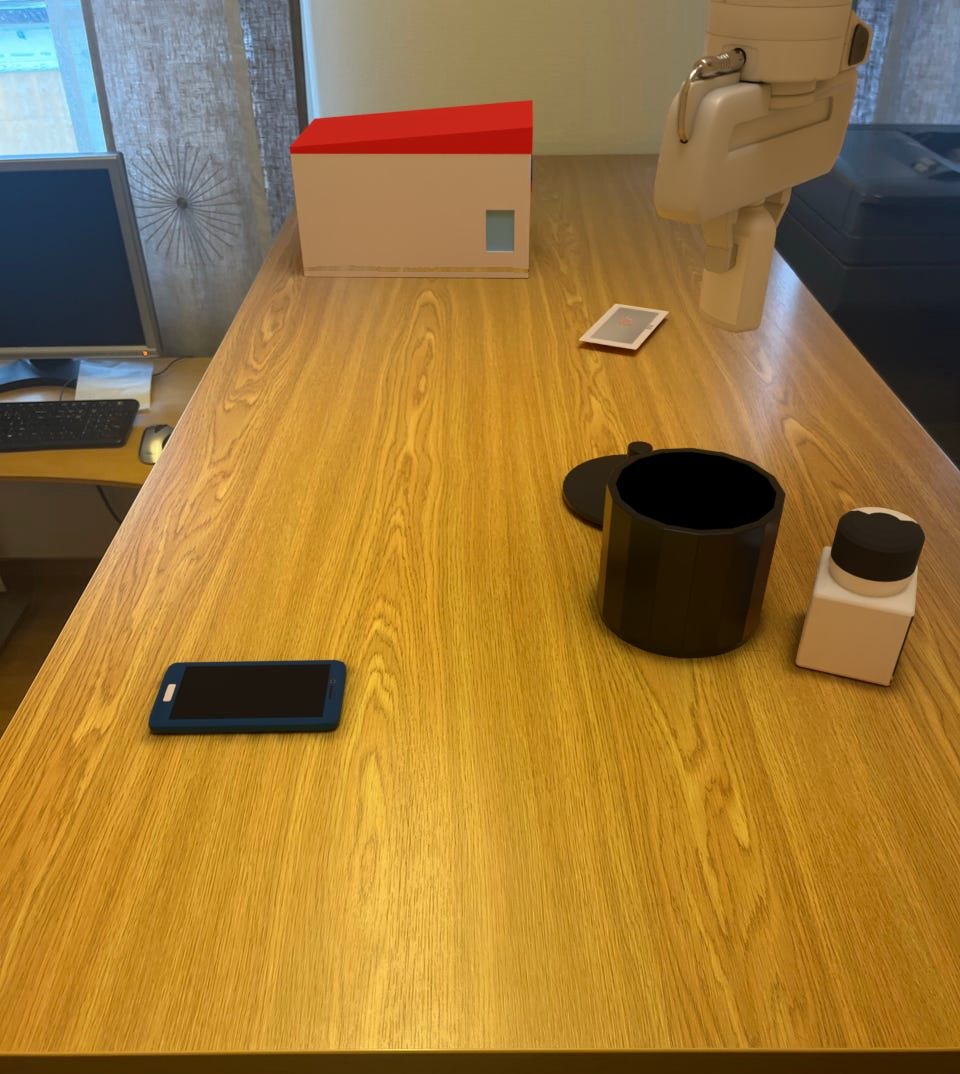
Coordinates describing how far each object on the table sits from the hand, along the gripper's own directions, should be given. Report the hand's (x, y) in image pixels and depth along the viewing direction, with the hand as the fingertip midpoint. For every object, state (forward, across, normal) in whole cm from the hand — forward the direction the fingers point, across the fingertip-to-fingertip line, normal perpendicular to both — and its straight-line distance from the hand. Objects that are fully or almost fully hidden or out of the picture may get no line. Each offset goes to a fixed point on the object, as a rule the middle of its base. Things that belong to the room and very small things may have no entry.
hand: (738, 261), depth 72 cm
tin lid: (+26, +6, +10) cm, 28 cm away
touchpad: (+27, +42, +36) cm, 61 cm away
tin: (+26, -7, -3) cm, 27 cm away
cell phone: (+27, -38, +15) cm, 49 cm away
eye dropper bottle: (+5, 0, 0) cm, 5 cm away
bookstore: (+27, +48, +80) cm, 97 cm away
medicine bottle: (+26, -3, -16) cm, 31 cm away
